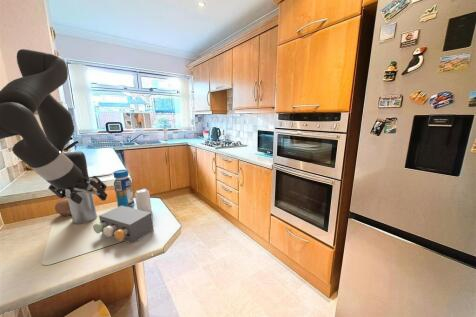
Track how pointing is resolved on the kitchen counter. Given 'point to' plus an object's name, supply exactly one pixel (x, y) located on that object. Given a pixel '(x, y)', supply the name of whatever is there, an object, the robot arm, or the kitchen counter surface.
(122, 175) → the beverage bottle
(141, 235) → the control box
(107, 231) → the button cream
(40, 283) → the kitchen counter surface
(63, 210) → the onion
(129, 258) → the kitchen counter surface
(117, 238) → the button orange
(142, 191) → the can
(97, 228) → the button green
